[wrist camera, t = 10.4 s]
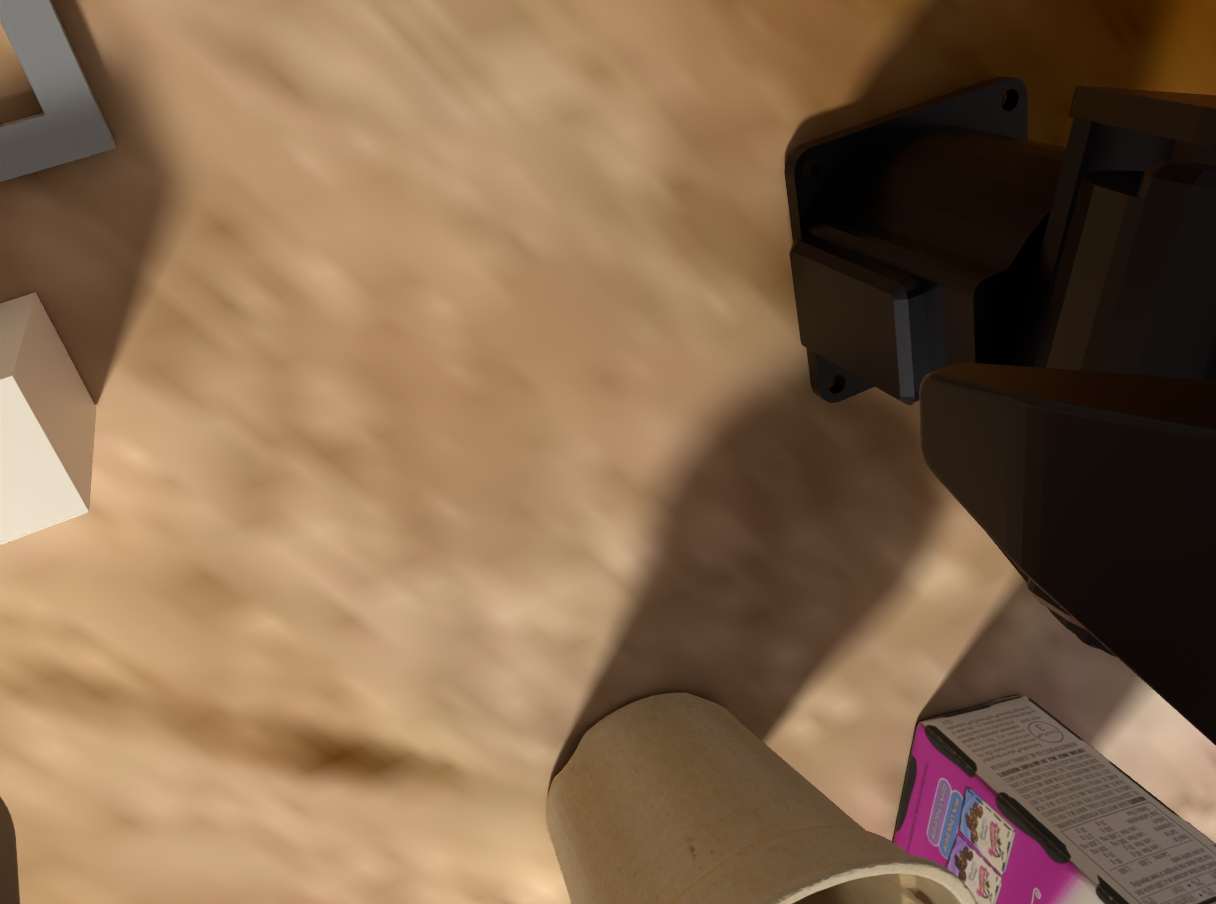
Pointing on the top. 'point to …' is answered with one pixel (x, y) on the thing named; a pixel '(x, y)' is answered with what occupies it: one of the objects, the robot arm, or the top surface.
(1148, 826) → the candy bar box
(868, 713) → the top surface
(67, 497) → the headphones
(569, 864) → the flower pot
